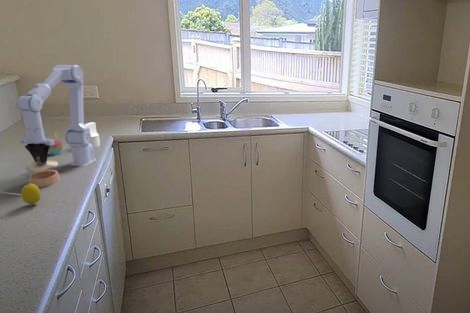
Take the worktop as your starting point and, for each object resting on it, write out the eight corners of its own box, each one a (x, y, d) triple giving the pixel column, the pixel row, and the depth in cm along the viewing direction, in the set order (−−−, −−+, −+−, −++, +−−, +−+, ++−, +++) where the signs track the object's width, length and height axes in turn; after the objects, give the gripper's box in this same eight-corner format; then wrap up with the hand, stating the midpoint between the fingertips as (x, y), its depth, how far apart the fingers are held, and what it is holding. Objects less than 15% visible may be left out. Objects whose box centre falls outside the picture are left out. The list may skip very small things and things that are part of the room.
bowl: (44, 177, 139) (43, 169, 138) (65, 179, 137) (63, 171, 136) (24, 186, 130) (22, 178, 129) (46, 189, 128) (44, 180, 126)
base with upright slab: (93, 148, 177) (90, 126, 173) (78, 147, 179) (75, 125, 175) (103, 143, 186) (100, 122, 182) (88, 143, 187) (85, 122, 183)
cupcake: (61, 150, 174) (57, 128, 170) (67, 154, 169) (63, 130, 165) (43, 154, 169) (39, 131, 165) (49, 157, 163) (44, 134, 159)
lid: (41, 161, 138) (40, 151, 136) (64, 163, 135) (62, 153, 134) (19, 170, 128) (16, 160, 126) (42, 172, 125) (40, 162, 124)
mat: (42, 166, 151) (41, 165, 151) (63, 169, 148) (63, 168, 148) (20, 176, 140) (20, 175, 140) (43, 178, 137) (42, 177, 137)
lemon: (45, 201, 118) (41, 180, 115) (37, 208, 113) (32, 186, 110) (29, 201, 118) (24, 180, 115) (20, 208, 112) (15, 186, 110)
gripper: (9, 129, 124) (17, 163, 129) (41, 131, 121) (48, 166, 125) (25, 124, 131) (32, 157, 135) (56, 126, 127) (62, 160, 132)
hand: (41, 161), depth 131 cm, fingers closed on lid, 2 cm apart
